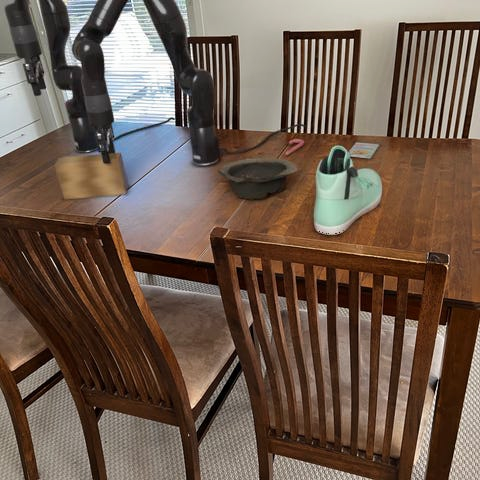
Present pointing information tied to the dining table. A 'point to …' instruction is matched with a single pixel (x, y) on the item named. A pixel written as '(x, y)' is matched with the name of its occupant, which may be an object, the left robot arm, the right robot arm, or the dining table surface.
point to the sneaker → (343, 192)
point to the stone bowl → (257, 176)
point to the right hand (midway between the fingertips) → (109, 158)
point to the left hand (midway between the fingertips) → (40, 92)
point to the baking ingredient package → (363, 150)
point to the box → (91, 176)
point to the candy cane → (295, 146)
